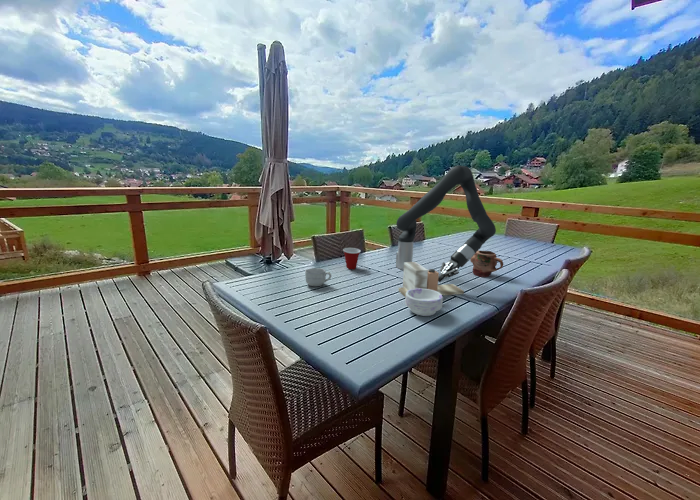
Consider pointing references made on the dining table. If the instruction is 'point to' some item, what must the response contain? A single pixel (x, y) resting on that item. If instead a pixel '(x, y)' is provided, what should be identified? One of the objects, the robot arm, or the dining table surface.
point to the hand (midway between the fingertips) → (437, 280)
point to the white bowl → (423, 301)
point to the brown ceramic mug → (485, 263)
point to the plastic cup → (351, 257)
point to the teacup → (316, 276)
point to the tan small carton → (432, 279)
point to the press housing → (422, 280)
